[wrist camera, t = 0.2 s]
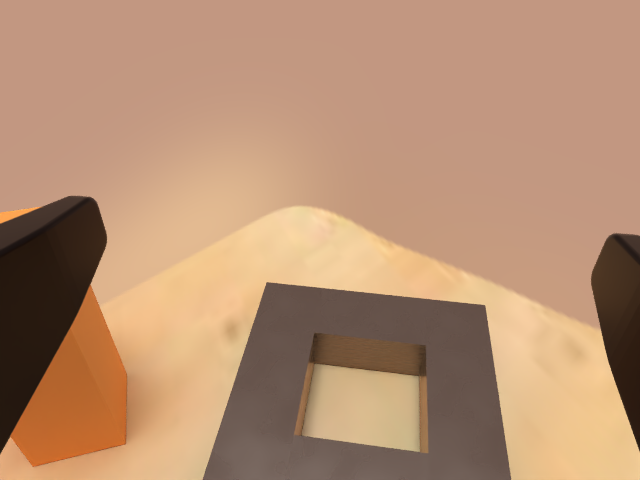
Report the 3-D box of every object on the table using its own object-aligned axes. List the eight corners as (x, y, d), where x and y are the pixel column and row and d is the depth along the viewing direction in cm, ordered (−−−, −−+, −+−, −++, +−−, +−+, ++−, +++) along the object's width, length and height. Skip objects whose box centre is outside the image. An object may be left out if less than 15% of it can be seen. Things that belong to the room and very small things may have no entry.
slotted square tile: (505, 576, 19) (522, 552, 18) (205, 527, 21) (195, 501, 19) (475, 335, 28) (485, 305, 27) (269, 312, 30) (266, 282, 28)
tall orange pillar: (125, 443, 23) (43, 272, 16) (33, 466, 23) (-95, 296, 16) (127, 374, 26) (57, 204, 19) (45, 392, 26) (-58, 221, 19)
